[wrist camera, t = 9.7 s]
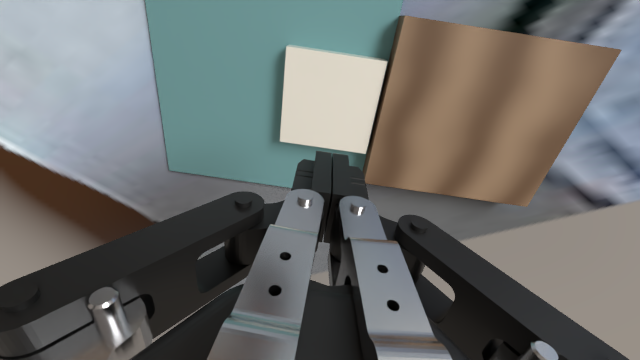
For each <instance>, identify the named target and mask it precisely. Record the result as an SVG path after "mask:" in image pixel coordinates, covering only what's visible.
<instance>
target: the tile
mask: <svg viewBox="0 0 640 360" xmlns="http://www.w3.org/2000/svg"><path fill="white" fill-rule="evenodd" d="M386 66H387V61H386V60H385V59H381V58H374V57H368V56H361V55H355V54H348V53H341V52H335V51H328V50H322V49H315V48H309V47H302V46H295V45H288V46H286V58H285V72H284V87H283V101H282V116H281V130H280V142H287V143H294V144H301V145H308V146H315V147H322V148H329V149H335V150H342V151H349V152H356V153H363V154H366V151H367V147H368V143H369V139H370V134H371V130H372V126H373V122H374V117H375V113H376V109H377V104H378V100H379V96H380V92H381V87H382V83H383V79H384V75H385V70H386Z"/></svg>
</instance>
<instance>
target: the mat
mask: <svg viewBox="0 0 640 360" xmlns="http://www.w3.org/2000/svg"><path fill="white" fill-rule="evenodd" d="M402 3H403V0H145V4H146V11H147V18H148V25H149V32H150V39H151V46H152V53H153V60H154V67H155V74H156V81H157V88H158V95H159V102H160V110H161V117H162V124H163V131H164V138H165V145H166V152H167V159H168V166H169V170H170V171H177V172H184V173H191V174H198V175H205V176H212V177H219V178H226V179H233V180H240V181H247V182H254V183H261V184H268V185H275V186H282V187H288V188H292V186H293V181H294V177H295V173H296V169H297V165H298V163H299V162H300V161H302V160H303V159H306V160H313V161H315V156H316V151H323V152H330V153H332V154H333V153H337V154H344V155H348V156H349V166H355V167H359V168H360V170H361V171H363V167H364V163H365V158H366V154H367V151H366V154H363V153H356V152H349V151H342V150H335V149H329V148H322V147H315V146H308V145H301V144H294V143H287V142H280V130H281V116H282V101H283V87H284V72H285V58H286V46H288V45H295V46H302V47H309V48H315V49H322V50H328V51H335V52H341V53H348V54H355V55H361V56H368V57H374V58H381V59H385V60H386V61H387V66H388V62H389V57H390V53H391V49H392V45H393V41H394V36H395V32H396V28H397V24H398V20H399V15H400V11H401V7H402ZM387 66H386V70H387ZM386 70H385V74H386ZM384 78H385V75H384ZM383 83H384V79H383ZM383 83H382V87H383ZM382 87H381V91H382ZM380 95H381V92H380ZM379 100H380V96H379ZM379 100H378V104H379ZM378 104H377V108H378ZM376 112H377V109H376ZM375 116H376V113H375ZM374 121H375V117H374ZM373 125H374V122H373ZM372 129H373V126H372ZM371 133H372V130H371ZM370 137H371V134H370ZM369 142H370V139H369ZM368 146H369V143H368ZM367 150H368V147H367Z"/></svg>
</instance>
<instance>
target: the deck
mask: <svg viewBox="0 0 640 360" xmlns="http://www.w3.org/2000/svg"><path fill="white" fill-rule="evenodd" d="M620 52H621V50H619V49H613V48H607V47H600V46H594V45H588V44H581V43H575V42H569V41H562V40H556V39H550V38H543V37H537V36H531V35H524V34H518V33H512V32H505V31H499V30H493V29H487V28H480V27H474V26H468V25H461V24H455V23H449V22H442V21H436V20H430V19H423V18H417V17H411V16H399V20H398V24H397V28H396V32H395V36H394V41H393V45H392V49H391V53H390V57H389V62H388V66H387V70H386V74H385V78H384V83H383V87H382V91H381V95H380V100H379V104H378V108H377V112H376V116H375V121H374V125H373V129H372V133H371V137H370V142H369V146H368V150H367V154H366V158H365V163H364V167H363V171H362V172H363V173H364V178H365V183H367V184H373V185H380V186H387V187H394V188H401V189H408V190H415V191H422V192H429V193H436V194H443V195H450V196H456V197H463V198H470V199H477V200H484V201H491V202H498V203H505V204H512V205H519V206H526V207H527V206H528V204H529V202H530V201H531V199H532V198H533V196H534V194H535V193H536V191H537V189H538V188H539V186H540V184H541V183H542V181H543V179H544V178H545V176H546V174H547V173H548V171H549V169H550V168H551V166H552V164H553V163H554V161H555V159H556V158H557V156H558V154H559V153H560V151H561V149H562V148H563V146H564V144H565V143H566V141H567V139H568V138H569V136H570V135H571V133H572V131H573V130H574V128H575V126H576V125H577V123H578V121H579V120H580V118H581V116H582V115H583V113H584V111H585V110H586V108H587V106H588V105H589V103H590V101H591V100H592V98H593V96H594V95H595V93H596V91H597V90H598V88H599V86H600V85H601V83H602V81H603V80H604V78H605V77H606V75H607V73H608V72H609V70H610V68H611V67H612V65H613V63H614V62H615V60H616V58H617V57H618V55H619V53H620Z"/></svg>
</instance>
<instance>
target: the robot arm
mask: <svg viewBox="0 0 640 360" xmlns="http://www.w3.org/2000/svg"><path fill="white" fill-rule="evenodd" d="M323 234H324V242H326V243H330V249H329V254H328V271H329V284H330V286H327V285H324V284H321V283H318V282H315V281H312V280H310V277H311V272H312V266H313V261H314V255H315V252H316V251H317V248H318V243H319V242H322V239H323ZM223 242H224V244H225V246H223V247H221V248H220V249H218V250H216V251H214V252H212V253H210V254H208V255H206V256H205V257H203V258H201V259H199V260H197V259H198V258H199V256H200V255H201V254H203V253H204V252H205V251H207V250H209V249H211V248H213V247H215V246H217V245H219V244H221V243H223ZM425 265H426V266H427V267H429V268H430V269H431V270H432V271H434V272H435V273H436V274H437V275H438V276H440V277H441V278H442V279H443V280H444V281H446V282H447V283H448V284H449V285H450V286H451V287H452V288H453V290H454V293H455V300H454V302H453V301H452V300H451V299H449V298H448V297H447V296H446V295H445V294H444V293H442V292H441V291H440V290H439V289H438V288H437V287H436V286H434V285H433V284H432V283H431V282H430V281H428V280H427V279H426V278H425V277H424V276H422V274H421V273H422V271H423V269H424V267H425ZM246 277H247V279H246V281H245V283H244V284H242V285H239V286H236V287H234V288H232V289H230V290H228V291H226V290H227V289H229V288H230V287H232V286H233V285H235V284H236V283H238V282H240V281H241V280H243V279H244V278H246ZM224 291H226V292H224ZM223 292H224V293H223ZM221 293H223V294H221ZM220 294H221V295H220ZM218 295H220V296H218ZM217 296H218V297H217ZM215 297H217V298H215ZM214 298H215V299H214ZM212 299H214V300H213V301H211V300H212ZM209 301H211V302H210V303H208V302H209ZM206 303H208V304H207V305H205V304H206ZM203 305H205V306H204V307H203V308H201V309H200V310H198V311H197V312H195V313H194V314H193V315H191V316H190V317H188V318H187V319H186V320H184V321H183V322H182V323H180V324H179V325H177V326H176V327H174V328H173V329H171V330H170V331H169V332H167V333H166V334H164V335H163V336H162V337H160V338H159V339H157V340H156V341H155V342H153V343H152V339H154V338H155V337H156V336H158V335H160V334H161V333H163V332H164V331H166V330H167V329H169V328H170V327H172V326H173V325H175V324H176V323H178V322H179V321H181V320H182V319H184V318H185V317H187V316H188V315H190V314H191V313H193V312H194V311H196V310H197V309H199V308H200V307H201V306H203ZM151 343H152V344H151ZM0 360H629V359H628V358H626V357H625V356H623V355H622V354H621V353H619V352H618V351H616V350H615V349H613V348H612V347H610V346H609V345H607V344H606V343H604V342H603V341H602V340H600V339H599V338H597V337H596V336H594V335H593V334H592V333H590V332H589V331H587V330H586V329H584V328H583V327H582V326H580V325H579V324H577V323H575V322H574V321H573V320H571V319H570V318H568V317H567V316H566V315H564V314H563V313H561V312H560V311H558V310H557V309H556V308H554V307H553V306H551V305H550V304H548V303H547V302H545V301H544V300H543V299H541V298H540V297H538V296H537V295H535V294H534V293H532V292H531V291H529V290H528V289H527V288H525V287H524V286H522V285H521V284H519V283H518V282H517V281H515V280H513V279H512V278H511V277H509V276H508V275H506V274H505V273H504V272H502V271H501V270H499V269H498V268H496V267H495V266H493V265H492V264H491V263H489V262H488V261H486V260H485V259H483V258H482V257H480V256H479V255H477V254H476V253H475V252H473V251H472V250H470V249H469V248H467V247H466V246H465V245H463V244H461V243H460V242H459V241H457V240H456V239H454V238H453V237H452V236H450V235H449V234H447V233H446V232H444V231H443V230H441V229H440V228H439V227H437V226H436V225H434V224H433V223H431V222H430V221H428V220H427V219H425V218H422V217H419V216H415V215H404V216H402V217H401V218H399V220H398V223H397V222H394V221H391V220H388V219H386V218H383V217H381V216H380V215H378V212H377V209H376V207H375V205H374V204H373V203H372V202H370V201H369V199H368V194H367V188H366V183H365V178H364V173H363V172H362V171H361V170H360V168H359V167H355V166H349V156H348V155H344V154H337V153H333V154H332V153H330V152H323V151H316V156H315V161H313V160H306V159H303V160H302V161H300V162H299V163H298V165H297V169H296V173H295V177H294V181H293V186H292V190H291V192H289V193H288V194H287V196H286V198H285V200H284V201H281V202H278V203H271V204H264V200H263V198H262V197H261V196H259V195H258V194H255V193H252V192H236V193H232V194H230V195H227V196H225V197H222V198H220V199H217V200H214V201H212V202H209V203H207V204H204V205H202V206H199V207H197V208H194V209H192V210H189V211H187V212H184V213H182V214H179V215H177V216H174V217H172V218H169V219H167V220H164V221H162V222H159V223H157V224H154V225H152V226H149V227H147V228H144V229H142V230H139V231H137V232H134V233H132V234H129V235H126V236H124V237H121V238H119V239H116V240H114V241H112V242H109V243H106V244H104V245H101V246H99V247H96V248H94V249H91V250H89V251H87V252H84V253H81V254H79V255H76V256H74V257H71V258H69V259H66V260H64V261H61V262H59V263H56V264H54V265H51V266H49V267H46V268H43V269H41V270H39V271H36V272H33V273H31V274H28V275H26V276H23V277H21V278H19V279H16V280H13V281H11V282H9V283H7V284H5V285H3V286H1V287H0Z"/></svg>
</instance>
